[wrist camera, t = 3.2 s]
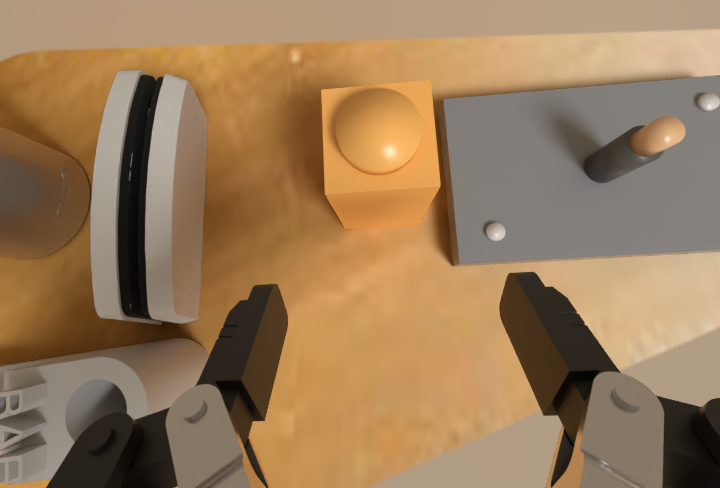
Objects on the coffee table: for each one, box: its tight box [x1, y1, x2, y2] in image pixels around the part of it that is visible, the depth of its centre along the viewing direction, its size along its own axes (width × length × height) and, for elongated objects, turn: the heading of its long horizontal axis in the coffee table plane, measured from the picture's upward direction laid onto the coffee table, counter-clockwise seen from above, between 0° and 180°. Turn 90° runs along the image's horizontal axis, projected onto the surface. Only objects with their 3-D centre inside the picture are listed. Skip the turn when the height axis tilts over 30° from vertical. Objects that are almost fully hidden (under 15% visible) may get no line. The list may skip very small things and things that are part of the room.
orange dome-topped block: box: [321, 80, 441, 229], centre depth 19 cm, size 6×6×10 cm
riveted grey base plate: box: [438, 75, 720, 266], centre depth 19 cm, size 20×12×7 cm, turn 93°
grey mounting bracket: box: [0, 338, 210, 484], centre depth 19 cm, size 6×18×8 cm, turn 99°
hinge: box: [90, 70, 208, 325], centre depth 21 cm, size 17×5×10 cm, turn 2°
